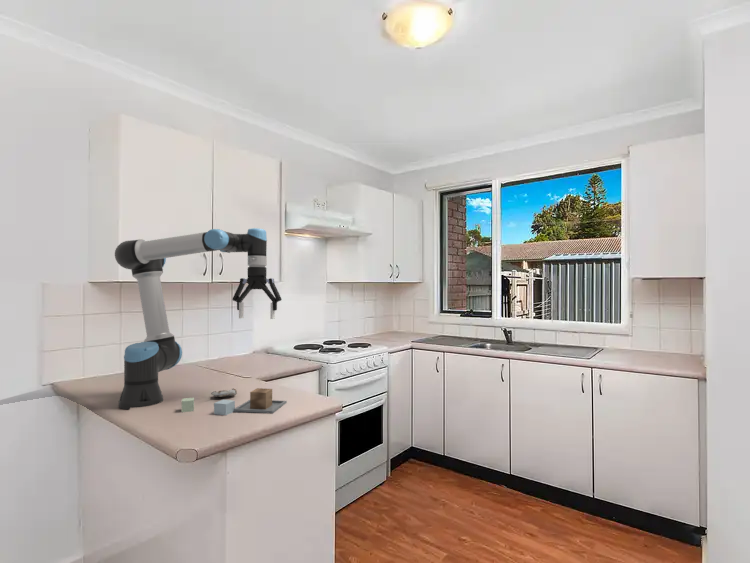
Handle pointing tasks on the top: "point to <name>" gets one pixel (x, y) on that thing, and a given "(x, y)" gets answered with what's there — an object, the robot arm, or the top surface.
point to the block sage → (187, 404)
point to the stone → (224, 393)
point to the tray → (246, 409)
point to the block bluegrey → (224, 407)
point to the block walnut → (260, 398)
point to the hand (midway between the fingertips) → (256, 318)
